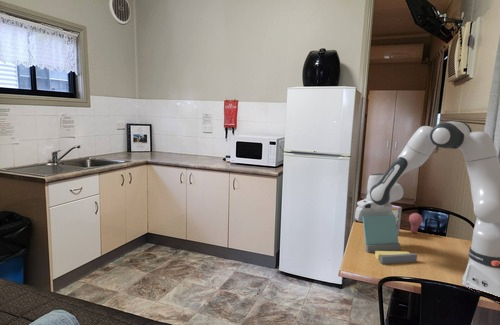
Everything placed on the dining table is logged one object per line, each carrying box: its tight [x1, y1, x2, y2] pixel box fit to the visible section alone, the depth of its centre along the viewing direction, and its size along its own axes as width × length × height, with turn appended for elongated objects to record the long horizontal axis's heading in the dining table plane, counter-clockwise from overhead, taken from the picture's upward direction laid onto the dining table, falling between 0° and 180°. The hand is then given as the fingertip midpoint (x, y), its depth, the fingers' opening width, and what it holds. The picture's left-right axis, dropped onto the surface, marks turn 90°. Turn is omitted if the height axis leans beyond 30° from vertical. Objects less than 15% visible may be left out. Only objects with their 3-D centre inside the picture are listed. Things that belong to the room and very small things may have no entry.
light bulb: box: [408, 212, 423, 234], centre depth 188 cm, size 7×7×12 cm
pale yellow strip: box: [374, 250, 411, 261], centre depth 156 cm, size 4×16×3 cm, turn 90°
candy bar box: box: [392, 204, 403, 235], centre depth 188 cm, size 11×5×16 cm, turn 48°
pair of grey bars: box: [365, 242, 418, 265], centre depth 157 cm, size 14×18×4 cm
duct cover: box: [362, 215, 399, 246], centre depth 166 cm, size 14×18×1 cm
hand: (372, 228), depth 173 cm, fingers closed
